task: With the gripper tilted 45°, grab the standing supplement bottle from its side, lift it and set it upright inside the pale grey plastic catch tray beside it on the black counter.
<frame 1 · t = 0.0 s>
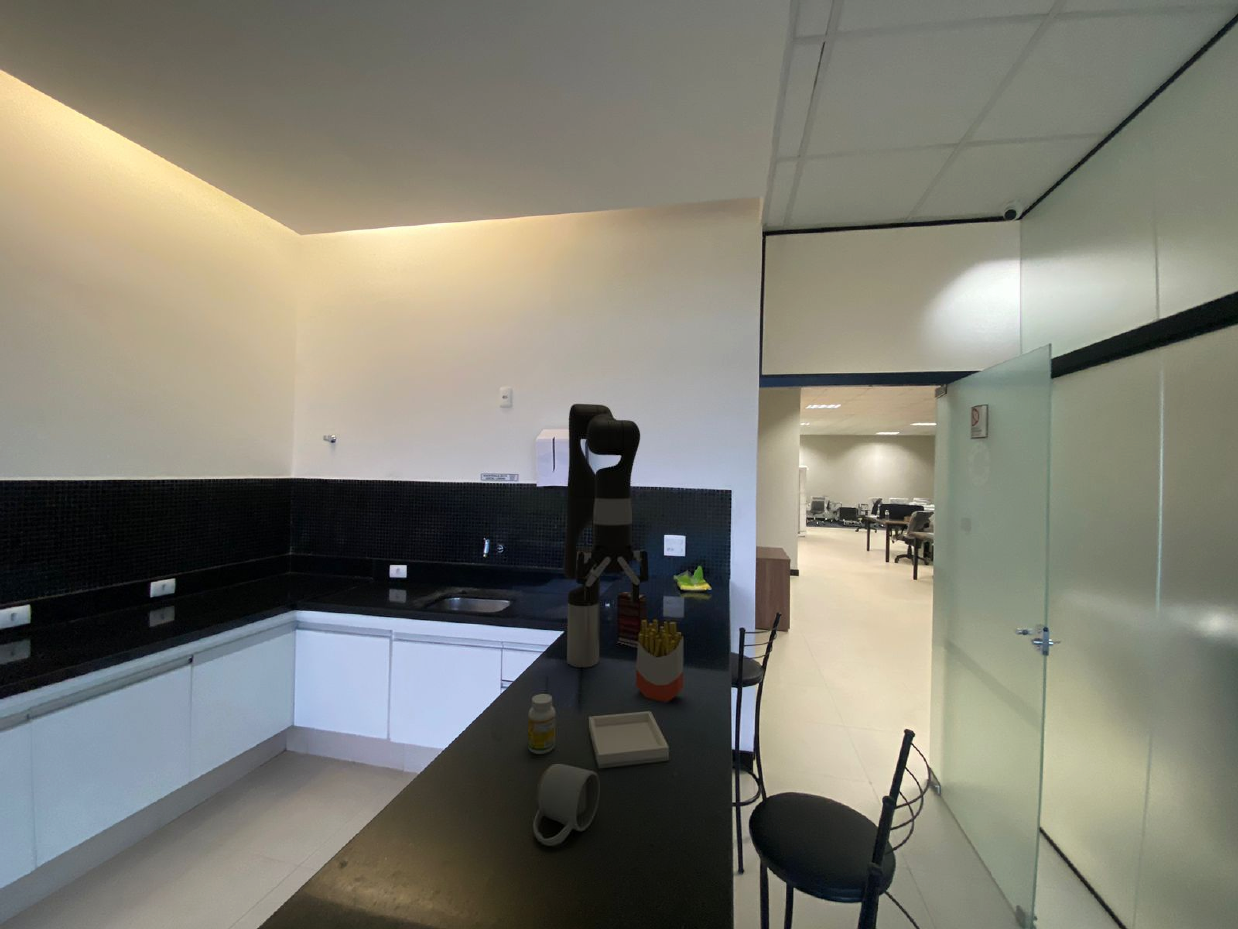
hand: (611, 603, 91), 29 cm above the worktop, tool pointing down, fingers open, 8 cm apart
supplement bottle: (541, 747, 93), on the worktop
catch tray: (626, 743, 94), on the worktop
ceramic mug: (564, 825, 72), on the worktop
supplement box: (631, 644, 148), on the worktop
french fries container: (659, 697, 114), on the worktop
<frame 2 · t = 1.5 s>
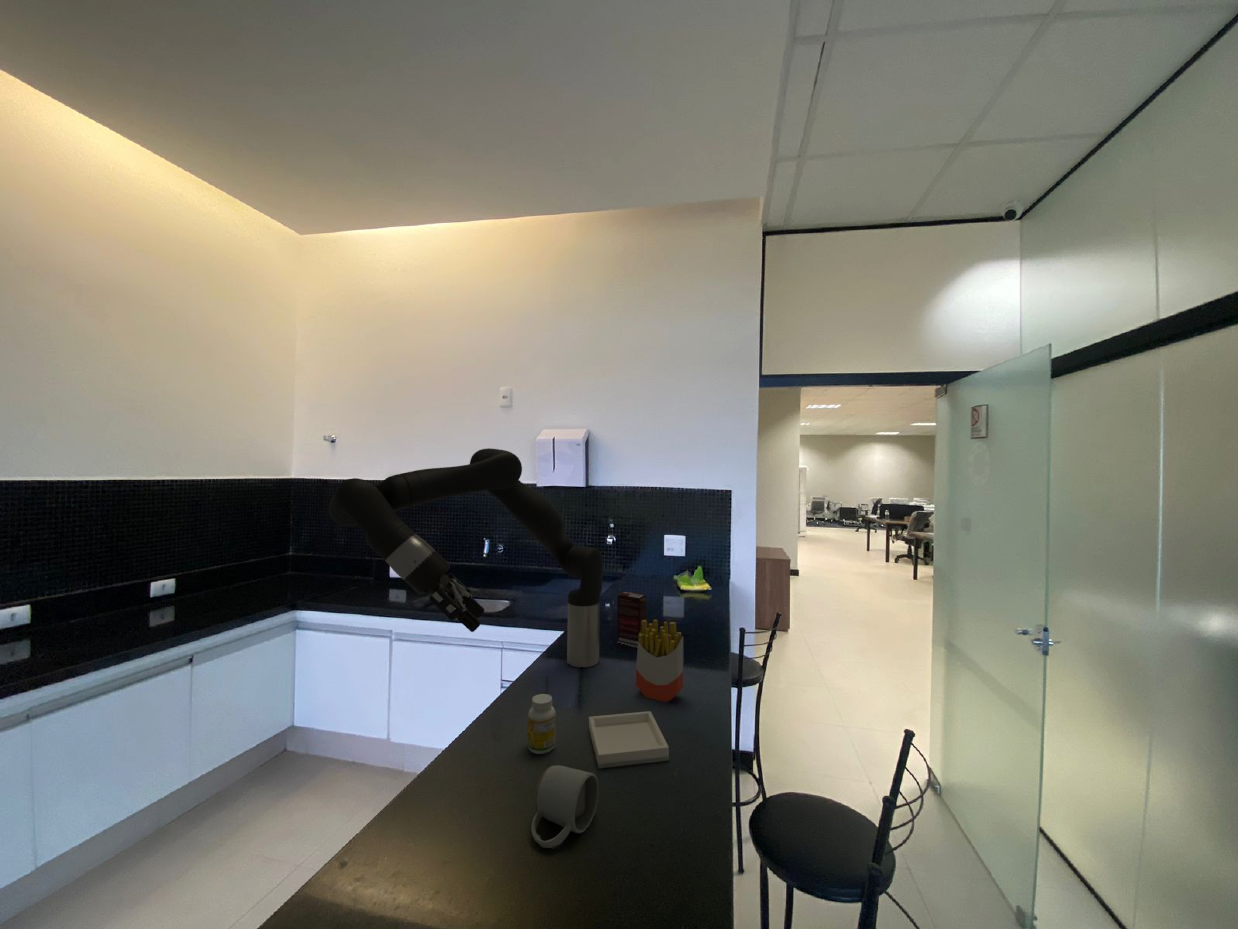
hand: (479, 621, 90), 26 cm above the worktop, tool tilted 45°, fingers open, 8 cm apart
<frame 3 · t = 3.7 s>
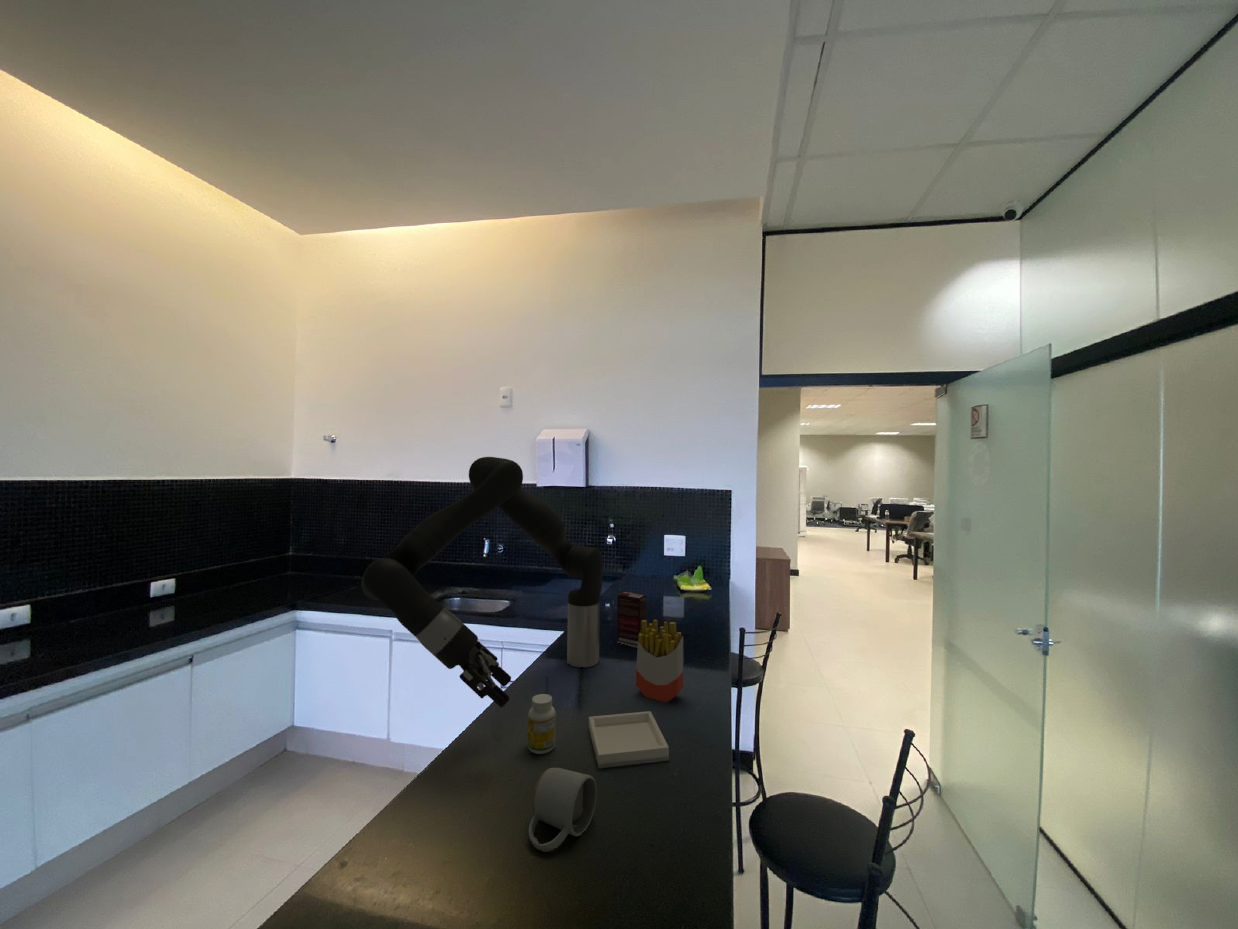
hand: (507, 692, 92), 11 cm above the worktop, tool tilted 45°, fingers open, 8 cm apart
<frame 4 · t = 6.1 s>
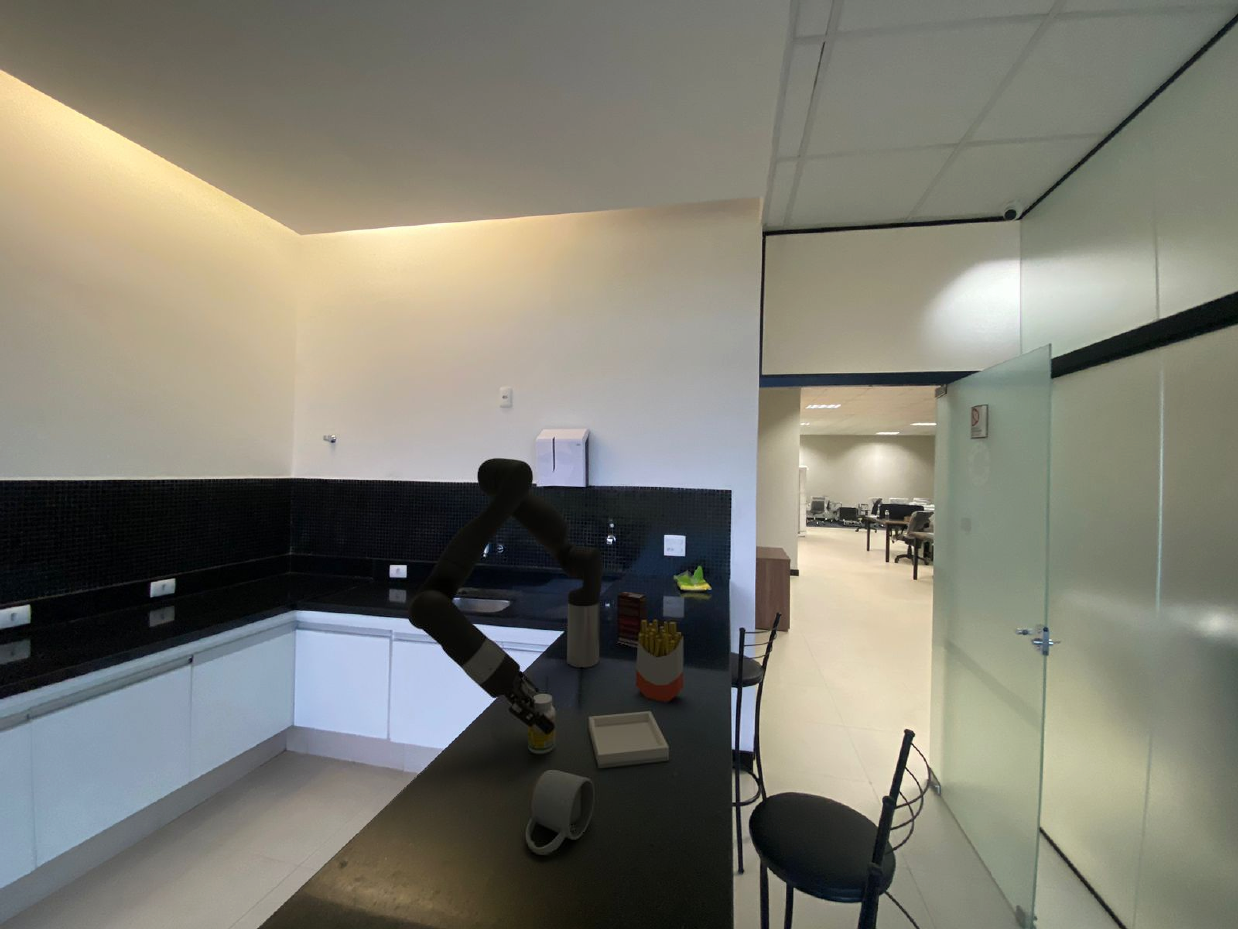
hand: (550, 722, 93), 5 cm above the worktop, tool tilted 45°, fingers closed on supplement bottle, 5 cm apart
supplement bottle: (541, 747, 93), on the worktop, touching gripper
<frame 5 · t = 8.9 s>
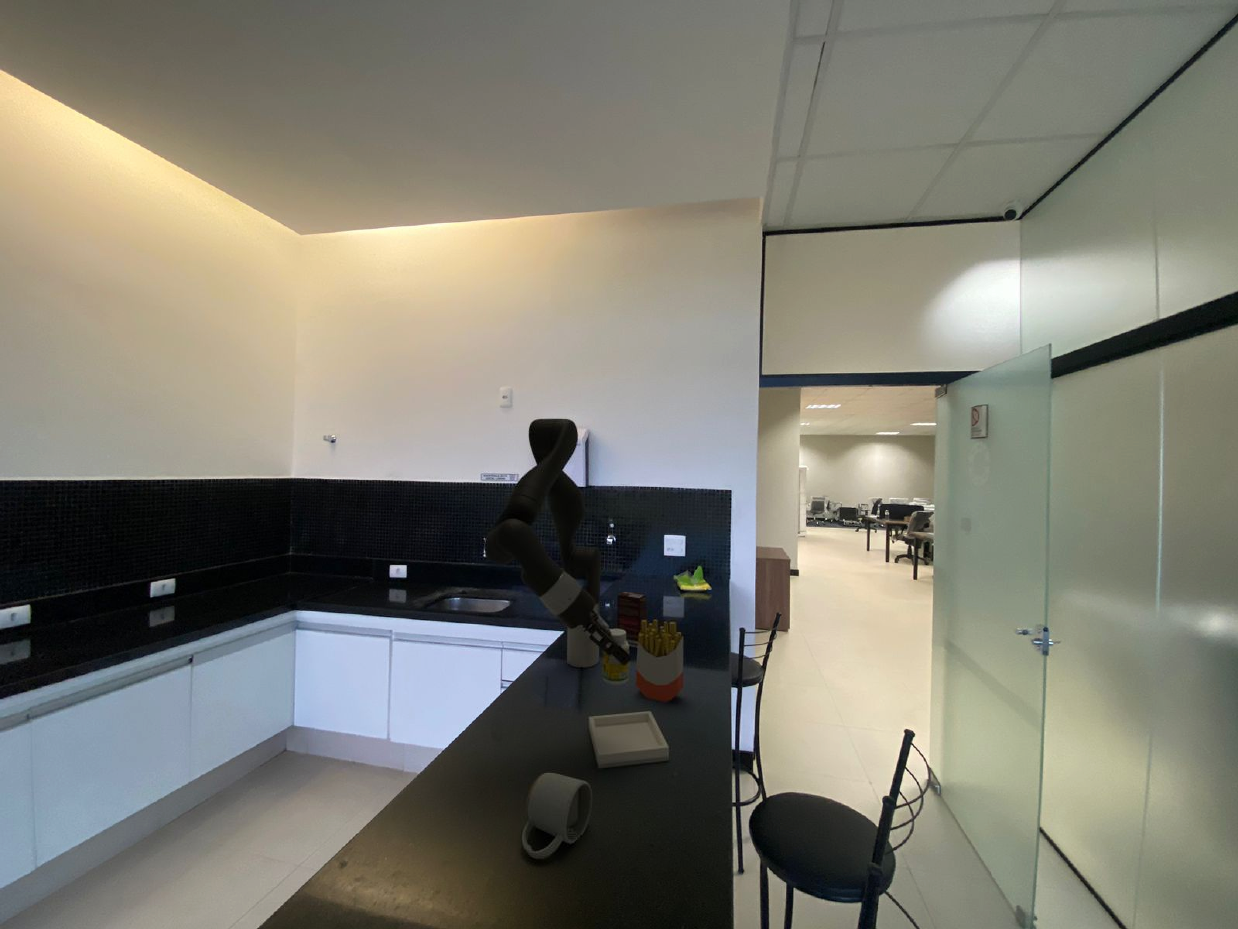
hand: (624, 655, 94), 18 cm above the worktop, tool tilted 45°, fingers closed on supplement bottle, 5 cm apart
supplement bottle: (615, 680, 94), point 13 cm above the worktop, touching gripper
when the fingers open (7 cm above the worktop, at t = 11.7 s): supplement bottle drops 1 cm, resting on catch tray.
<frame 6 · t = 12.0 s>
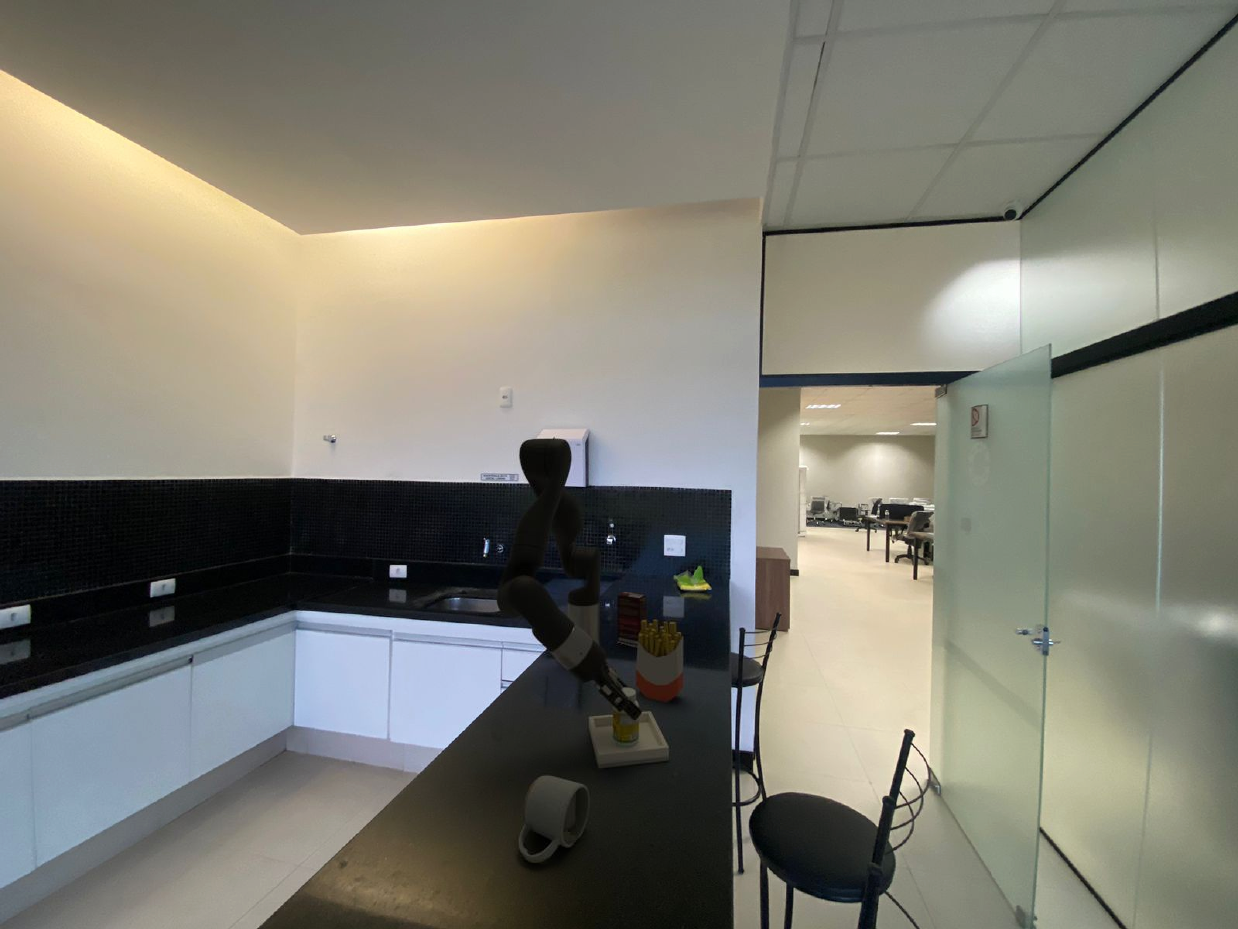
hand: (633, 705, 94), 8 cm above the worktop, tool tilted 45°, fingers open, 8 cm apart
supplement bottle: (625, 740, 94), point 1 cm above the worktop, touching catch tray
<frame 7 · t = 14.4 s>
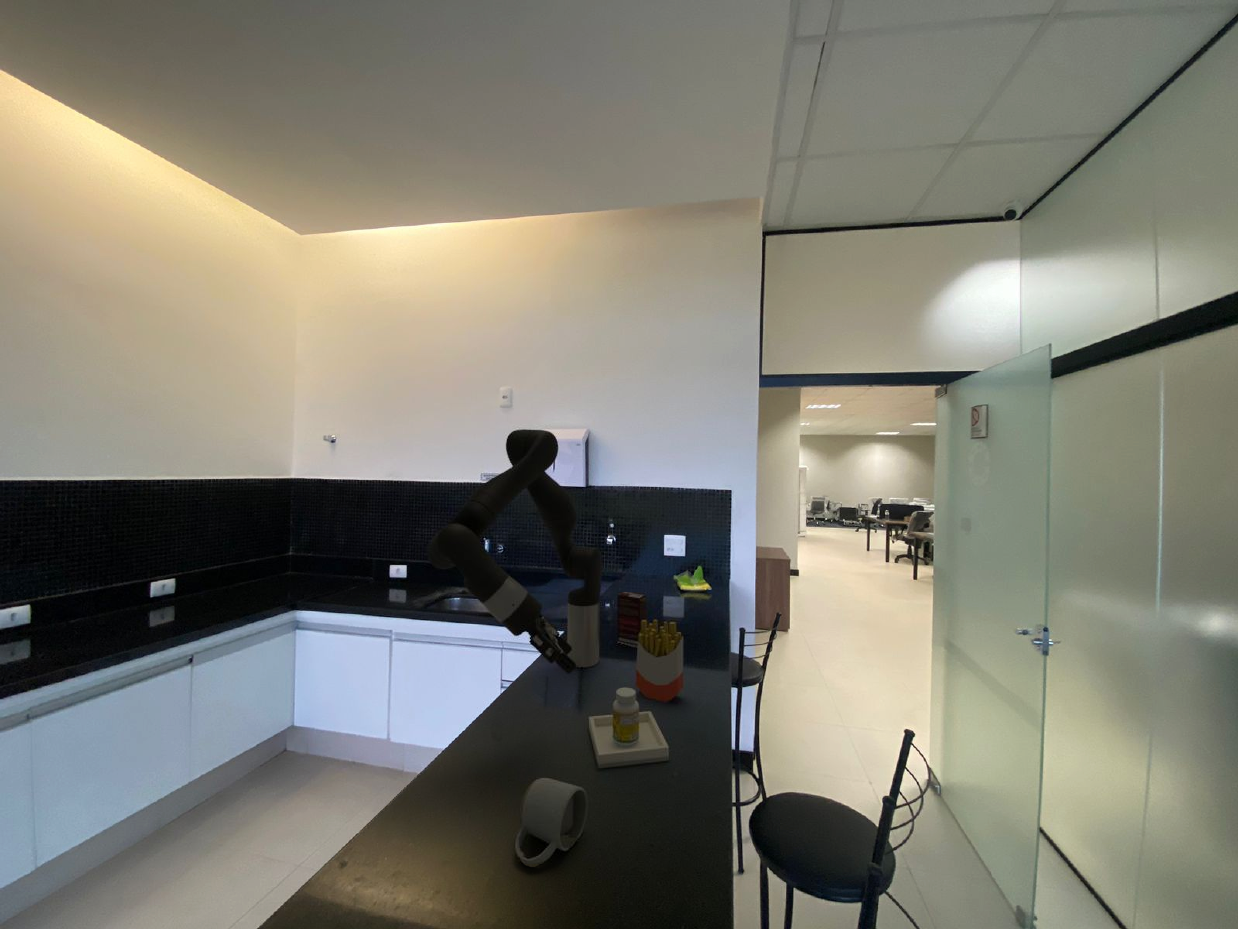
hand: (570, 660, 92), 18 cm above the worktop, tool tilted 45°, fingers open, 8 cm apart
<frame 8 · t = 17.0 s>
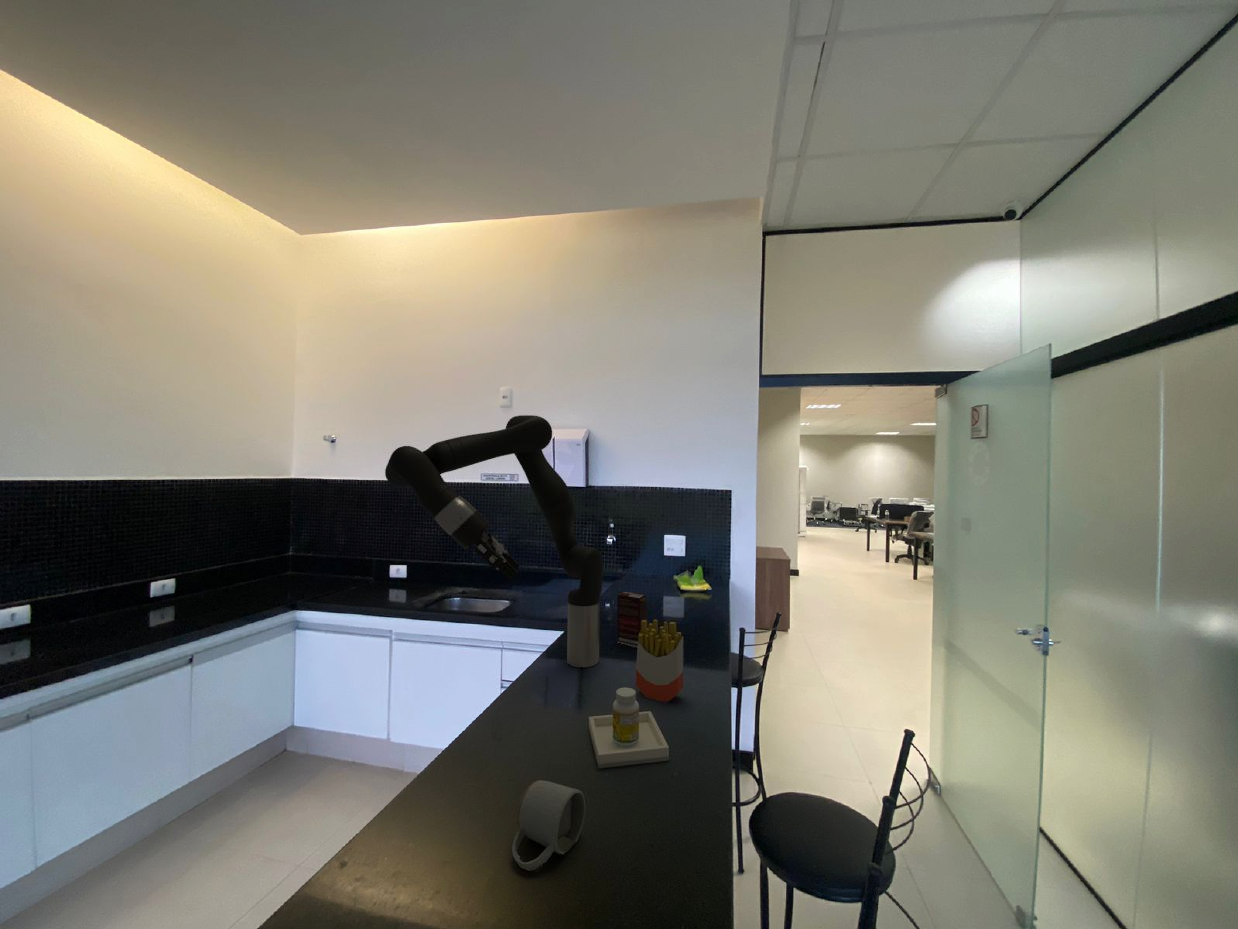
hand: (516, 573, 102), 33 cm above the worktop, tool tilted 45°, fingers open, 8 cm apart
at the end: supplement bottle inside the target area on the catch tray (0.2 cm from its centre), point 0.6 cm above the catch tray's base; supplement bottle tilted 0°; the gripper is holding nothing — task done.
